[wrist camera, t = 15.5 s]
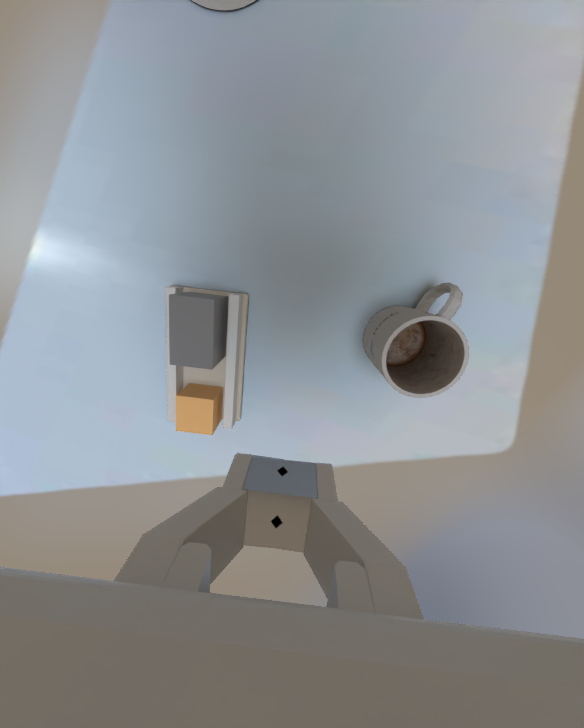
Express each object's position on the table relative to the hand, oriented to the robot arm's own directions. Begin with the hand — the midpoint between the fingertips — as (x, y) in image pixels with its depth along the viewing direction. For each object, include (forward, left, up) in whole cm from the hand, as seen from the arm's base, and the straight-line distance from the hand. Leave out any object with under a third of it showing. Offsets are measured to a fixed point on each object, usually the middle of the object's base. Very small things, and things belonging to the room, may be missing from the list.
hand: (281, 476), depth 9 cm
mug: (-1, +14, -31) cm, 34 cm away
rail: (+6, -12, -31) cm, 34 cm away
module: (+1, -12, -30) cm, 32 cm away
